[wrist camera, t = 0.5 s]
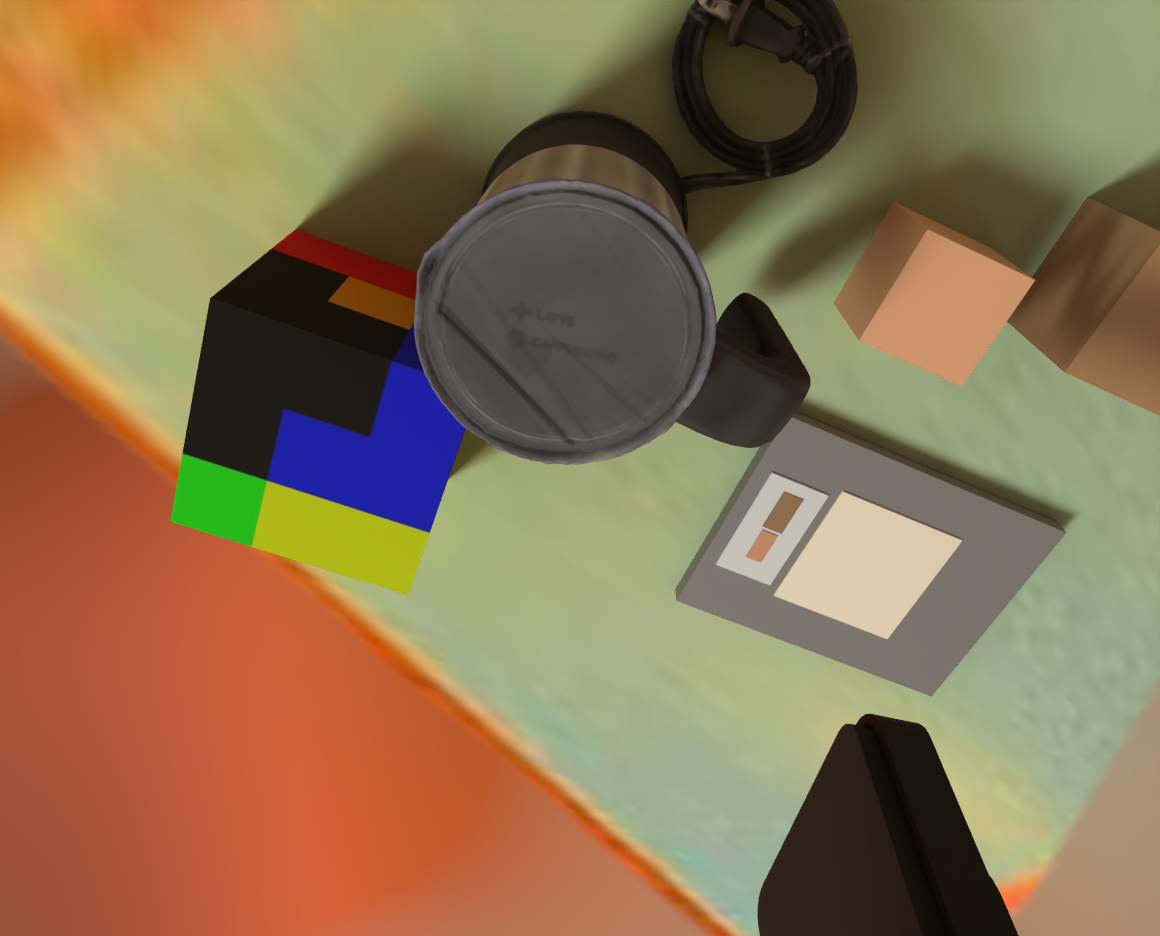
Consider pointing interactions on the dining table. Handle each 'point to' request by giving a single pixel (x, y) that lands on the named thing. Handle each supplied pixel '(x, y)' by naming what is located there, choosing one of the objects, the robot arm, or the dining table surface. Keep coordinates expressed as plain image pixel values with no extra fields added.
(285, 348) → the puzzle toy
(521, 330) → the milk frother
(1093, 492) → the dining table surface
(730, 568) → the board
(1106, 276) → the walnut cube
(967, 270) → the terracotta block
